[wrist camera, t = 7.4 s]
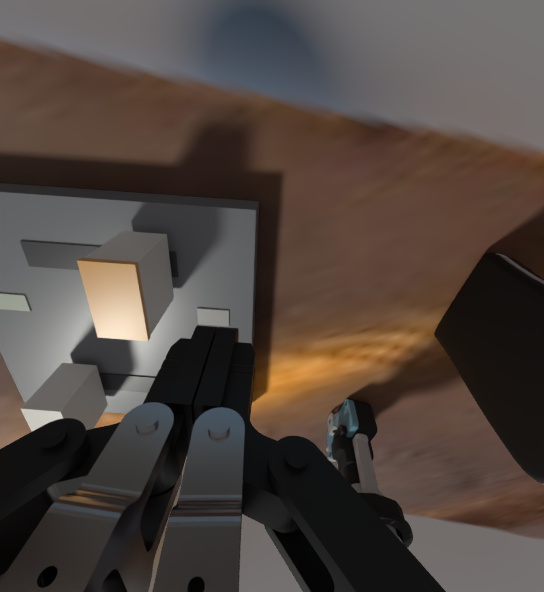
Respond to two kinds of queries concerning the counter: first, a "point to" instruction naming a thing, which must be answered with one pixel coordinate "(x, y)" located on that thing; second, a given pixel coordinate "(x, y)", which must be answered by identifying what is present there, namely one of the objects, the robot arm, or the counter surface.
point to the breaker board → (73, 301)
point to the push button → (363, 462)
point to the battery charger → (502, 353)
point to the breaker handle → (128, 284)
